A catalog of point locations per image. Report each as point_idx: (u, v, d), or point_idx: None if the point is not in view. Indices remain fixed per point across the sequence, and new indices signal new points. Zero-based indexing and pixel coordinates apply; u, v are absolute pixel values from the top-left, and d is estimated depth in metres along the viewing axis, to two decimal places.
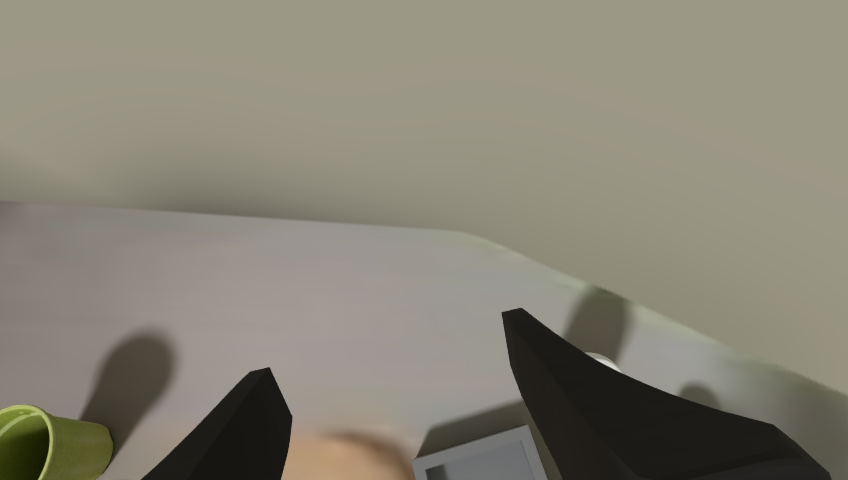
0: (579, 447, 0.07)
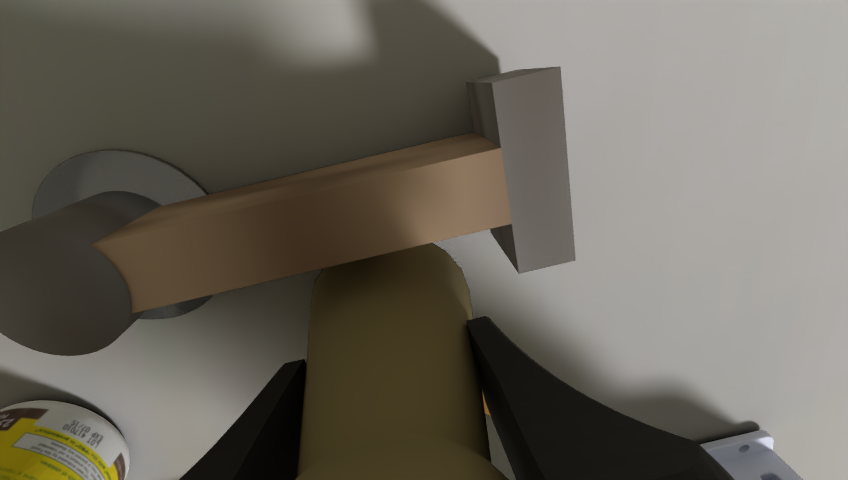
0: (523, 459, 0.07)
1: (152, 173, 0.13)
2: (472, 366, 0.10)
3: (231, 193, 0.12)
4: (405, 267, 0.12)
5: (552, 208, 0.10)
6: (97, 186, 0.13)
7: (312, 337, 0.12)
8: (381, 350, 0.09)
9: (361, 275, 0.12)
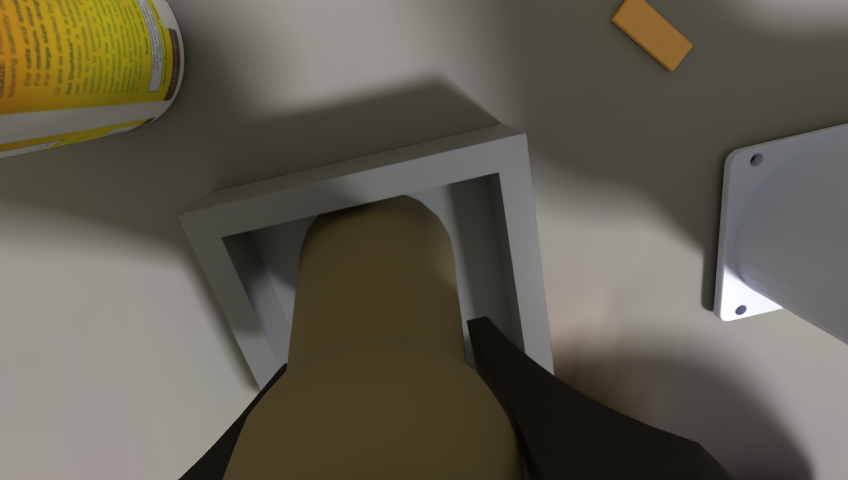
0: (523, 460, 0.07)
1: None
2: (457, 310, 0.11)
3: None
4: (402, 218, 0.13)
5: None
6: None
7: (305, 270, 0.12)
8: (378, 277, 0.10)
9: (359, 220, 0.13)
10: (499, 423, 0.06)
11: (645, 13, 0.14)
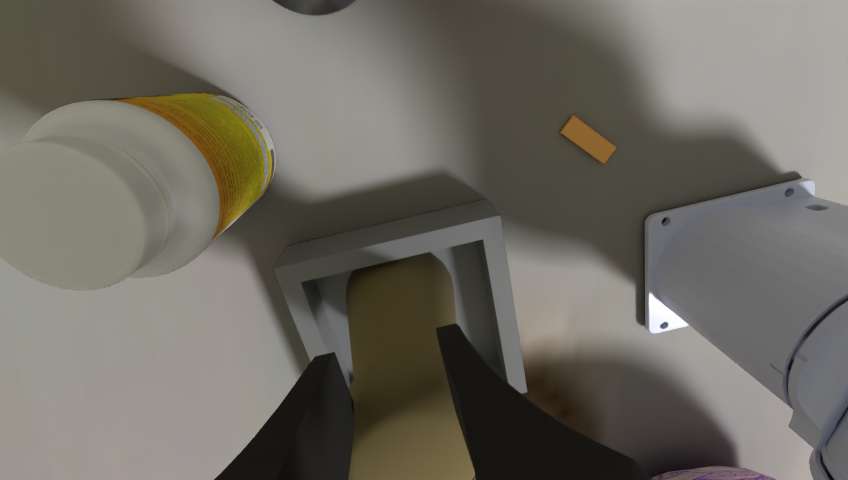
0: None
1: None
2: None
3: None
4: (419, 269, 0.20)
5: None
6: None
7: (357, 305, 0.19)
8: (407, 314, 0.16)
9: (391, 270, 0.19)
10: None
11: (582, 128, 0.20)
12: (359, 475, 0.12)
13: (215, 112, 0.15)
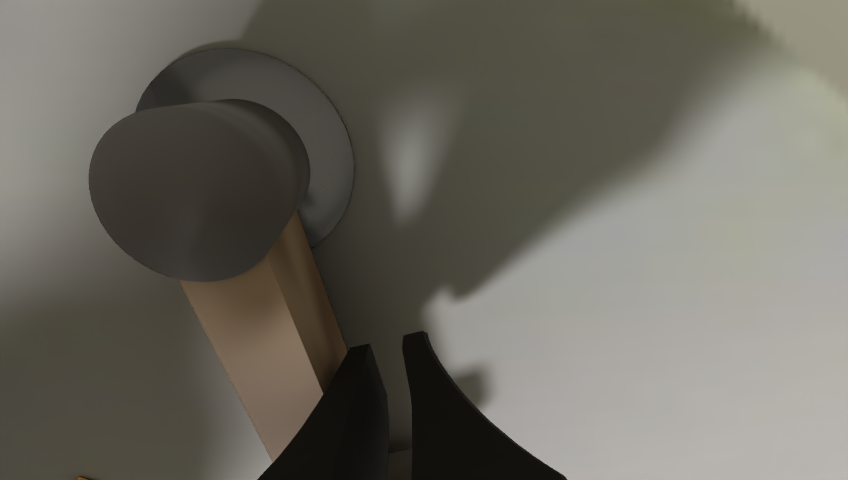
0: None
1: (331, 201, 0.12)
2: None
3: (320, 297, 0.12)
4: None
5: None
6: (312, 142, 0.11)
7: None
8: None
9: None
10: None
11: None
12: None
13: None
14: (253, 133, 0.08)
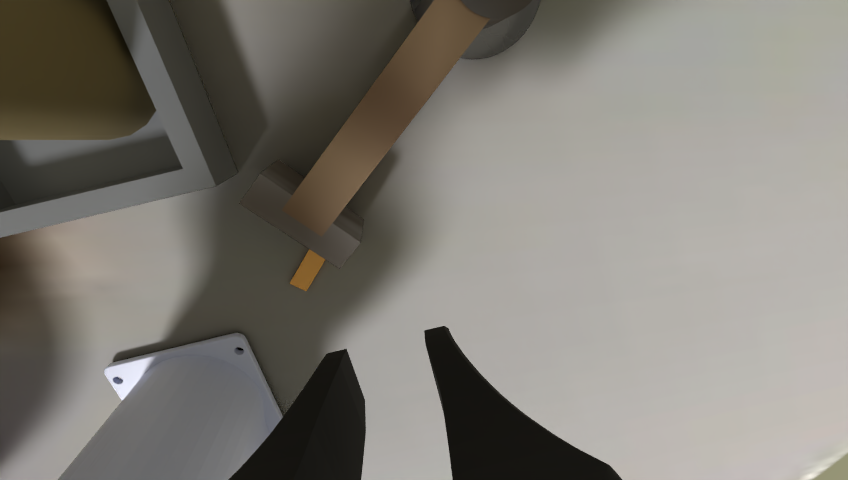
0: None
1: (524, 13, 0.18)
2: (28, 134, 0.13)
3: None
4: (125, 89, 0.16)
5: (280, 217, 0.17)
6: None
7: None
8: (38, 63, 0.12)
9: (115, 50, 0.15)
10: None
11: (321, 258, 0.22)
12: None
13: None
14: None
